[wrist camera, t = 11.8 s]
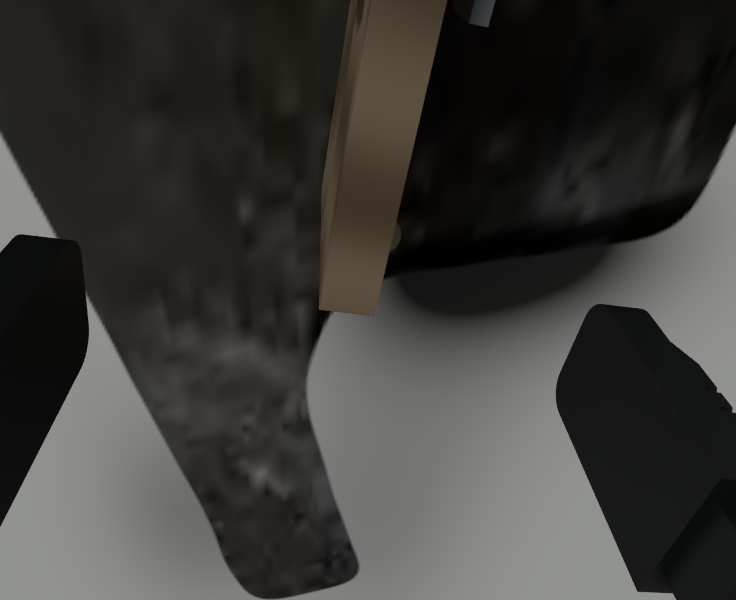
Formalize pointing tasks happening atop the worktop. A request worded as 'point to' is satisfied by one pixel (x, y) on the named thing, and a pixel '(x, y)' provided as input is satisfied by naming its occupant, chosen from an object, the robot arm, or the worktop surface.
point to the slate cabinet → (475, 11)
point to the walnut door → (372, 144)
